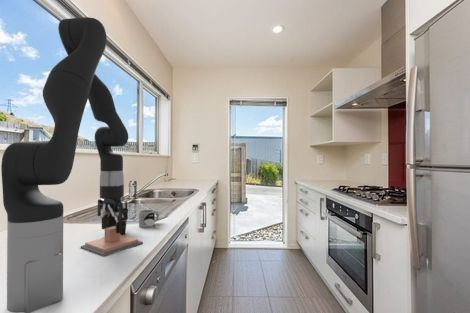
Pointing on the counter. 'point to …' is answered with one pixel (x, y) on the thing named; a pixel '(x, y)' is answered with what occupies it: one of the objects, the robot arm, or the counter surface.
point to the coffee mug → (113, 222)
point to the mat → (109, 251)
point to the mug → (147, 218)
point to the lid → (111, 241)
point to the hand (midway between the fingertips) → (112, 230)
